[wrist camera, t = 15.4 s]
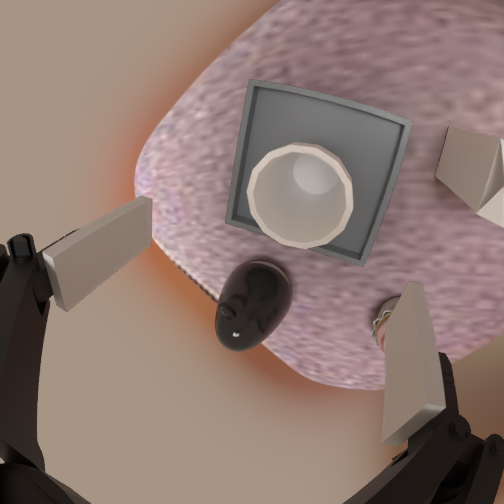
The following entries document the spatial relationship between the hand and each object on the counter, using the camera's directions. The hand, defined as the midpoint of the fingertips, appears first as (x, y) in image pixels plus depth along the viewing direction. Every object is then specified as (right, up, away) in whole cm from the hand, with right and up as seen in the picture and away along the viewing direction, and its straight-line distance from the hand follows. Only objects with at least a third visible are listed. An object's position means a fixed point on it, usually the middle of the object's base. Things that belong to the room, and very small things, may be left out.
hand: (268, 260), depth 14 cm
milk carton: (+27, +12, +15) cm, 33 cm away
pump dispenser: (+2, -4, +33) cm, 34 cm away
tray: (+7, +11, +23) cm, 27 cm away
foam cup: (+8, +11, +22) cm, 26 cm away
